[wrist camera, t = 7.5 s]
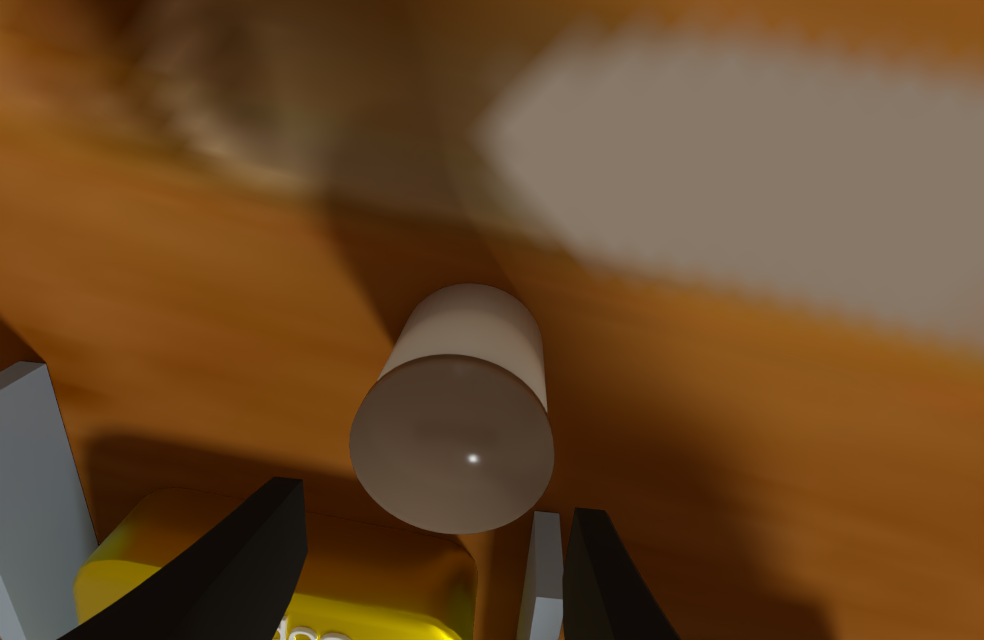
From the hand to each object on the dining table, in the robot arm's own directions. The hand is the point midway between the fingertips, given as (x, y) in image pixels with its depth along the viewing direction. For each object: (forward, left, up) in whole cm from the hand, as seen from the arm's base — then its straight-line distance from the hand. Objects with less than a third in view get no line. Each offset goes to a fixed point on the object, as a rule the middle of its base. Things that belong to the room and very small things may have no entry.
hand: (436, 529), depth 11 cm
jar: (0, 0, -8) cm, 8 cm away
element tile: (+7, +16, -9) cm, 20 cm away
